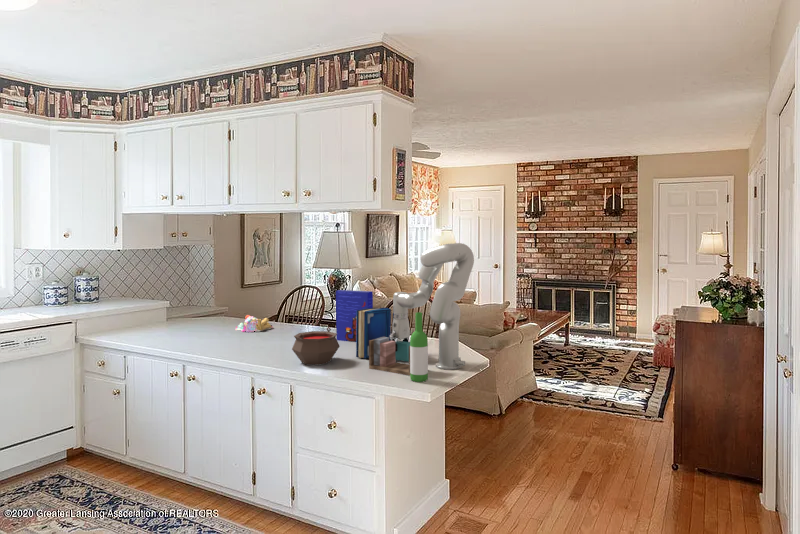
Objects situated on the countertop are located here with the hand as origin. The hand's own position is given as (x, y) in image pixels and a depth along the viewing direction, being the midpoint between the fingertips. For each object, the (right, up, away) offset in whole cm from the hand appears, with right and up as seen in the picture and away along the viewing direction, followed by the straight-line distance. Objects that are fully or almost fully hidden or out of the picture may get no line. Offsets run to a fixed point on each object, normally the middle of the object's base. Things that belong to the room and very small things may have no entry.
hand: (400, 349), depth 289 cm
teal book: (+1, -5, 0) cm, 5 cm away
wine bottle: (+8, -8, -40) cm, 41 cm away
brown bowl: (-42, -6, -4) cm, 43 cm away
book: (-13, -5, +10) cm, 17 cm away
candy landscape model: (-98, 0, +89) cm, 133 cm away
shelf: (-1, -7, -20) cm, 21 cm away
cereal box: (-27, -2, +48) cm, 55 cm away
